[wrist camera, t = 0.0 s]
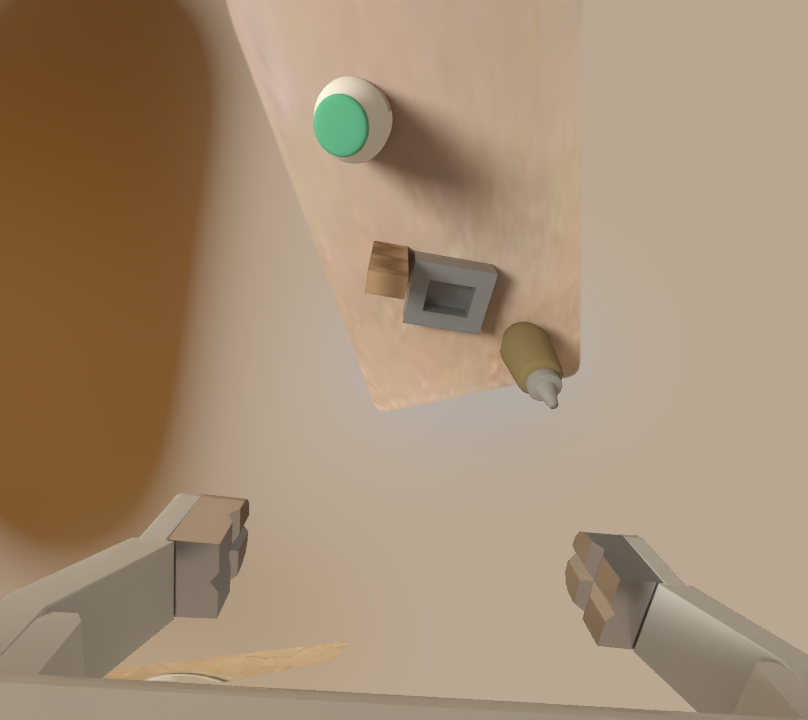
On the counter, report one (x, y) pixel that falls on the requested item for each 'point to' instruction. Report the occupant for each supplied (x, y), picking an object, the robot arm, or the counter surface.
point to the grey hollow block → (448, 293)
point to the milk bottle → (352, 119)
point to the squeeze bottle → (532, 362)
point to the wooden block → (388, 270)
